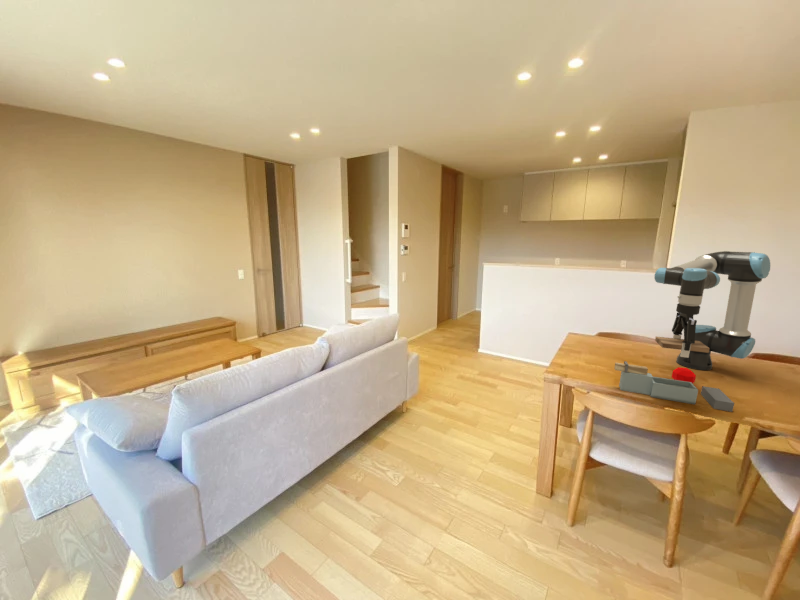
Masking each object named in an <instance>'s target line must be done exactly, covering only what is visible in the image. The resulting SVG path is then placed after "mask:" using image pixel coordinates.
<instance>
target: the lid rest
mask: <svg viewBox="0 0 800 600" xmlns="http://www.w3.org/2000/svg"><path fill="white" fill-rule="evenodd" d="M700 395H701V396H702V397H703V398H704V399H705V401H706V402H707V403H708V404H709V405H710V406H711V408H712V409H714V410H718V411H725V412H731V413H733V411H734V406H735V402H734V401H732V400H731V398H729V397H728V396H727V395H726V394H725V393H724V391H722V390H721V389H720V388H717V387H711V386H704V385H703V386H702V387H701V391H700Z"/></svg>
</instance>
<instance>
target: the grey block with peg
mask: <svg viewBox="0 0 800 600" xmlns="http://www.w3.org/2000/svg"><path fill="white" fill-rule="evenodd" d="M623 364H625V365H626V366H625V372H624V371H620V379H619V383H618V387H620V388H619V390H620V391H623V392H630V393H636V394H641V395H648V396H650V391H651V386H652V380H653V377H654V376H653V375H652V373H650V372H647V375H644V374H637V373H630V372H627V371H628V364H629V363H628V361H626V360H625V361H623Z"/></svg>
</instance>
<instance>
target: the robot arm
mask: <svg viewBox="0 0 800 600" xmlns="http://www.w3.org/2000/svg"><path fill="white" fill-rule="evenodd" d="M770 271H771V260H770V257H769V256H768V255H767V254H765V253H761V252H755V251H754V252H753V251H748V252H747V251H728V250H724V251H716V252H711V253H710V252H709V253H706V254H702V255H700V256H698V257H696V258H695V259H694V260H691V261H689V262H684V263H682V264H680V265H677V266H673V267H659V268H656V271H655V274H654V281H655V282H656V283H657V284H663V285H672V286H678V287H679V288H680V290H679V294H678V296H677V299H678V301H677V302H678V303H677V304H676V314H675V320H674V323H673V326H672V329H671V332H672V334H673V335H672V338H676V339H682V336H683V339H684V341H682V343H683V344H682V349H681V350H680V353H679V354H678V355H677V357H676V363H677V364H678V365H680V366H683V367H684V368H688V369H692V370H698V371H710V370H712V368H713V361H712V356H711V353H712V352H713V353H717V354H719V355H724V356H727V357H731V358H736V359H740V360H741V359H746V358H747V357H748V356H749V355H750V353H752V351H753V349H754V347H755V344H756V339H755V338H754V337H751V336H752V333H751V331H749V330H748V329H749V323H750V317H751V313H752V307H753V304H754V299H755V292H756V289H757V287H756V286H757V285H758V284H759V283H761V282H762V280H763V279H766V278H767V277H769V274H770ZM720 275H726V276H727V280H728V281H729V282H730V290H729V295H728V299H727V300H728V301H727V305H726V306H727V307H726V312H725V318H724V324H723V326H722V327H720V328H719V329H718V330H717V327H716V326H713V325H707V324H697V321H698V320H697V319H694V316H695V315H696V316H698V315H699V314H700V310H701V305H702V301H703V298H704V297H703V296H704V295H703V294H704V291H705V290H708V289H712V288H715V287H717V286H718V285H719V284H720V282H721V277H720ZM695 341H700V342H701V343H703V344H704V345H706V346H707V347H709V348H710V349H709V353H706V352H697V351H690V348H691V344H692V343H693V344H694V343H695Z"/></svg>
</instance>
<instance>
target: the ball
mask: <svg viewBox="0 0 800 600" xmlns="http://www.w3.org/2000/svg"><path fill="white" fill-rule="evenodd" d="M671 378H672V379H673V380H679V381H686V382H692V384H693V385H694V383H695V382H696V378H697V376H696V374H695V373H694V372H693V371H692V370H691V369H690V368H688V367H679V366H678V367H676V368H675V369H673V370H672V373H671Z"/></svg>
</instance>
